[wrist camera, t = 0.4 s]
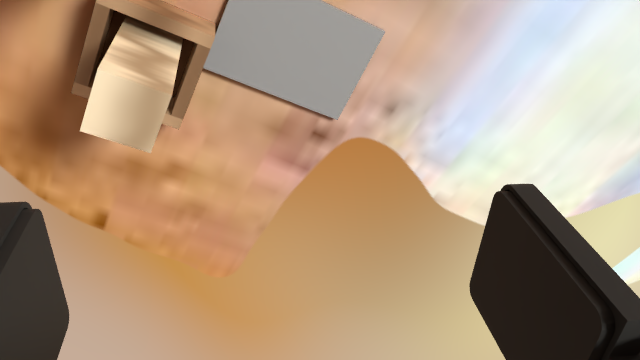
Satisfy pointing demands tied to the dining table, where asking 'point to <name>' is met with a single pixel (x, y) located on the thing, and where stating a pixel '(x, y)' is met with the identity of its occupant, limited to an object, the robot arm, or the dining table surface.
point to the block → (133, 85)
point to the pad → (294, 50)
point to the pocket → (148, 7)
